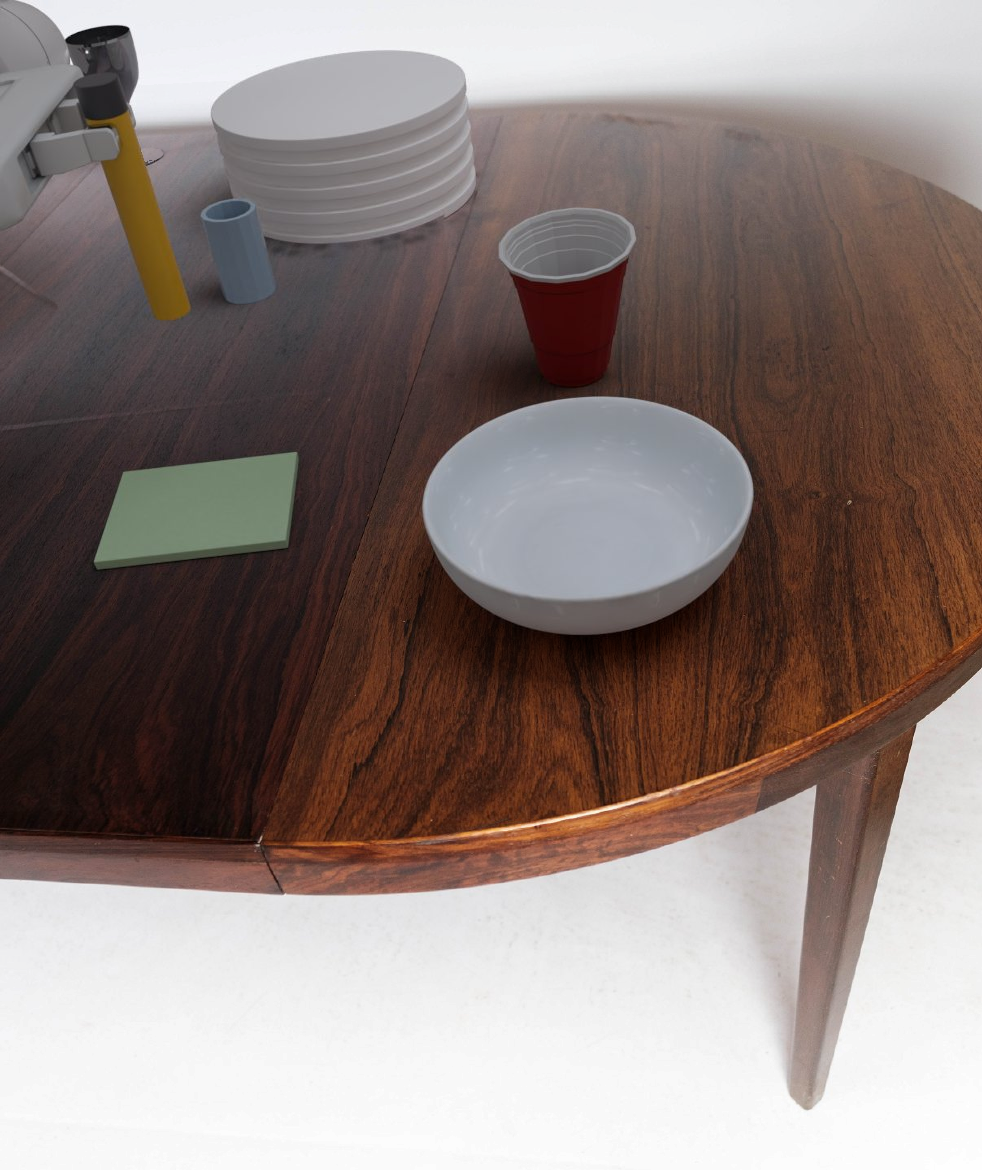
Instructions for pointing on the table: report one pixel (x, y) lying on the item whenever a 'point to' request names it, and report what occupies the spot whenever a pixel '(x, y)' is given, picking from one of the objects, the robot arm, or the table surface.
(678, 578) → the serving bowl
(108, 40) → the wine glass
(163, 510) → the felt mat
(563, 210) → the plastic cup
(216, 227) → the pen pot
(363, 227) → the plate stack
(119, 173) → the marker
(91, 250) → the table surface
